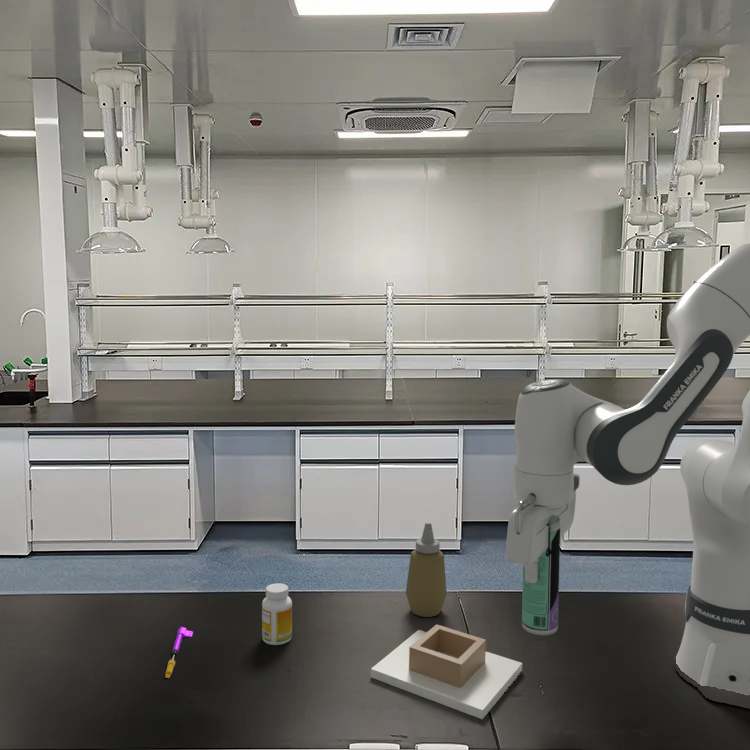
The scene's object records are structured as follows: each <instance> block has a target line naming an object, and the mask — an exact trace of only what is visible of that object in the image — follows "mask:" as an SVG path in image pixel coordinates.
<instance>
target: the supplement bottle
mask: <svg viewBox="0 0 750 750" xmlns="http://www.w3.org/2000/svg"><path fill="white" fill-rule="evenodd" d="M265 596H266V597H264V598H263V600H262V603H261V624H262V625H261V626H262V627H261V637H262V641H263V642H264V643H266V644H267V645H271V646H279V645H284V644H286V643H288V642H290V641H291V640H292V638H293V601H292V598H290V596H289V587H288V585H287V584H285V583H280V582H278V583H272V584H269V585H267V586H266V588H265Z"/></svg>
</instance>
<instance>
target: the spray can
mask: <svg viewBox="0 0 750 750" xmlns="http://www.w3.org/2000/svg"><path fill="white" fill-rule="evenodd" d="M559 522H560V519H559V518H558V517H557V516H555V515H552V516H551V517H550V519H549V521H548V523H547V526H549V529H548V549H547V550H546V551H545V552H544V553H543V554H542V555H541V556H540V557H539V561H538V562H537V566H538V569H540V575H539V576H540V578H539V580H538V581H537V582H536V583H530V582H527V581H526V580H525V569H524V566H522V589H521V590H522V592H521V593H522V595H521V601H522V602H521V603H522V604H521V627H522V628H523V630H524V631H526V632H527V633H529V634H532V635H533V634H534V635H537V636H538V635H539V636H548V635H553V634H555V633H556V632H557V631H558V628H559V597H560V595H559V593H560V591H559V590H560V554H561V551H560V550H561V537H560V523H559Z"/></svg>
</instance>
